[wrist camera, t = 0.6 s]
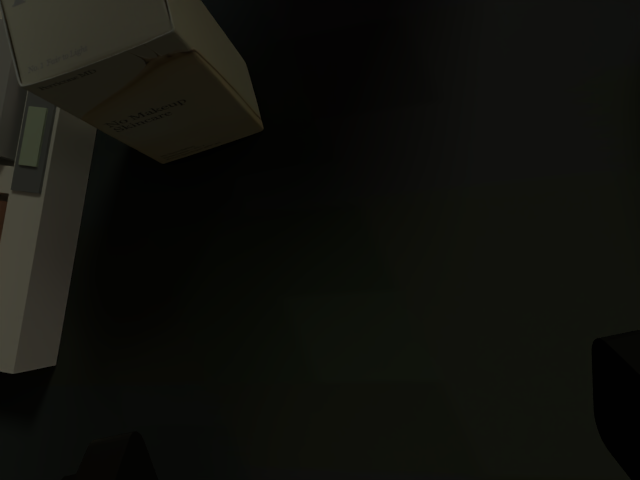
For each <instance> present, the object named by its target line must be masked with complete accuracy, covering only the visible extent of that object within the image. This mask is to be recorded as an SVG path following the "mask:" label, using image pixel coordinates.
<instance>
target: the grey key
mask: <svg viewBox="0 0 640 480" xmlns="http://www.w3.org/2000/svg"><path fill="white" fill-rule="evenodd" d="M26 96H27V90H25V89H24V88H22V87H21V86H19V84H18V81H17V77H16V73H15V69H14V66H13V62H12V58H11V54H10V50H9V45H8V41H7V37H6V33H5V28H4V25H3V19H0V159H5V160H12V161H15V157H16V152H17V146H18V141H19V135H20V130H21V124H22V119H23V113H24V108H25V102H26Z"/></svg>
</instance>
